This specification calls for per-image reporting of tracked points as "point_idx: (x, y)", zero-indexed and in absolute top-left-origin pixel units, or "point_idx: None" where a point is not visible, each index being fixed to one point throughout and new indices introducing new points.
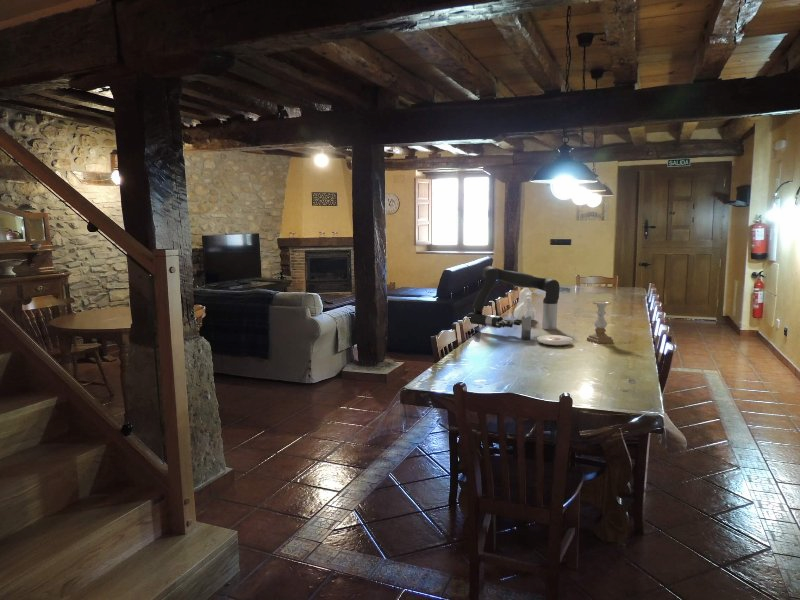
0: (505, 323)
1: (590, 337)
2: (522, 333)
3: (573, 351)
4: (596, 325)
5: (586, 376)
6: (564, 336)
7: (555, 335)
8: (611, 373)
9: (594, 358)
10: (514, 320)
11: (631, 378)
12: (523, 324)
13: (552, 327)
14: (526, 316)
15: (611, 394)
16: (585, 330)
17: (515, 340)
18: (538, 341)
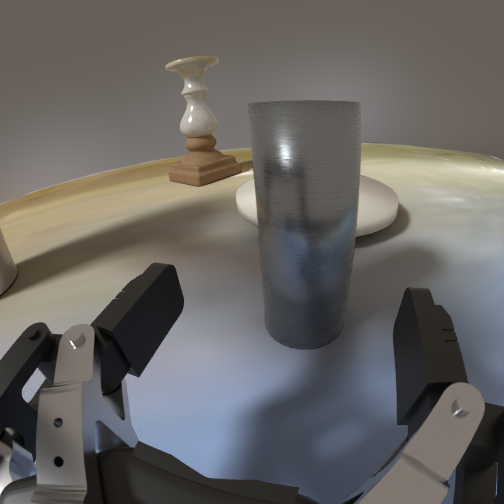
0: (479, 402)
1: (208, 170)
2: (347, 288)
3: (377, 180)
4: (213, 125)
5: (487, 171)
6: (250, 183)
7: (246, 197)
8: (446, 159)
9: (395, 164)
10: (38, 342)
11: (441, 153)
12: (358, 192)
13: (13, 264)
14: (301, 100)
15: (499, 164)
16: (52, 219)
17: None
18: (387, 225)
